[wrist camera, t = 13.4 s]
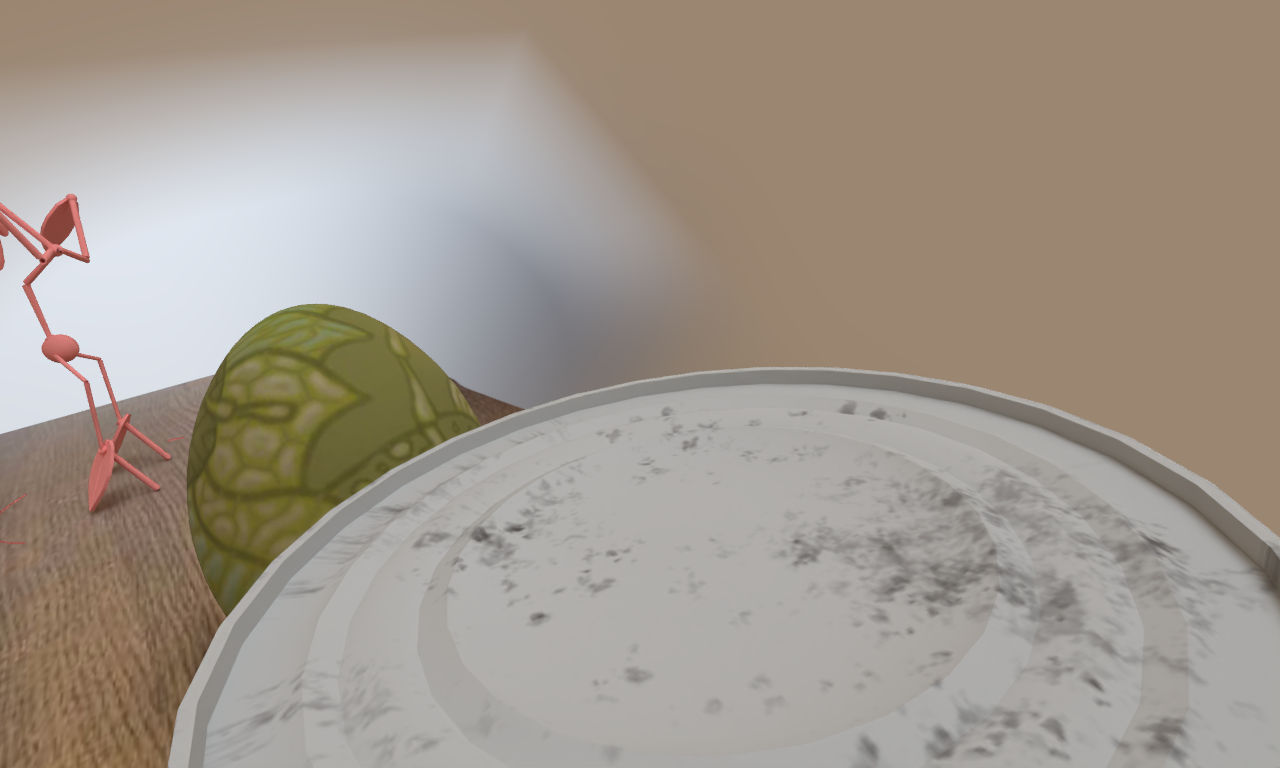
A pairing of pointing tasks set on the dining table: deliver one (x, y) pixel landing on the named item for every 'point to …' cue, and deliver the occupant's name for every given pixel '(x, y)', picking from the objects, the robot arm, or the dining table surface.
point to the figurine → (66, 347)
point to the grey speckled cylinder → (760, 594)
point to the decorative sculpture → (305, 433)
